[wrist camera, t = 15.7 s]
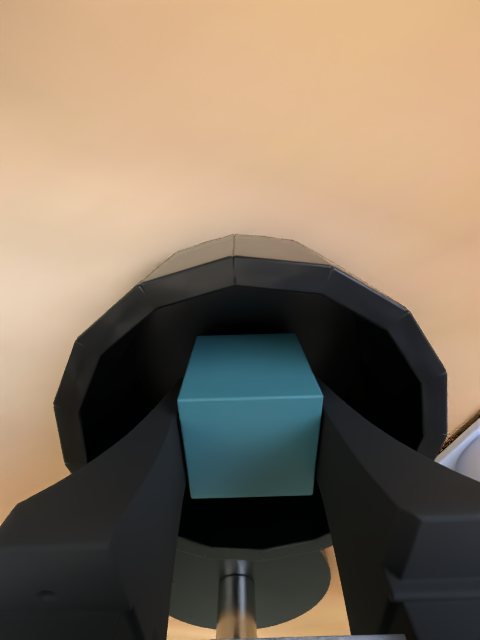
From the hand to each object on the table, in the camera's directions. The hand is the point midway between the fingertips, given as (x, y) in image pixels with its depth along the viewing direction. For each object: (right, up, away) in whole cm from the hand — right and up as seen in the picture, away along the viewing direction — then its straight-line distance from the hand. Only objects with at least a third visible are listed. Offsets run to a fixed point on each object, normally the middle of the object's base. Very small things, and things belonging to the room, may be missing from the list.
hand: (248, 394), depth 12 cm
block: (0, +1, +1) cm, 1 cm away
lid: (-1, -16, +9) cm, 18 cm away
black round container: (0, +1, +2) cm, 2 cm away
